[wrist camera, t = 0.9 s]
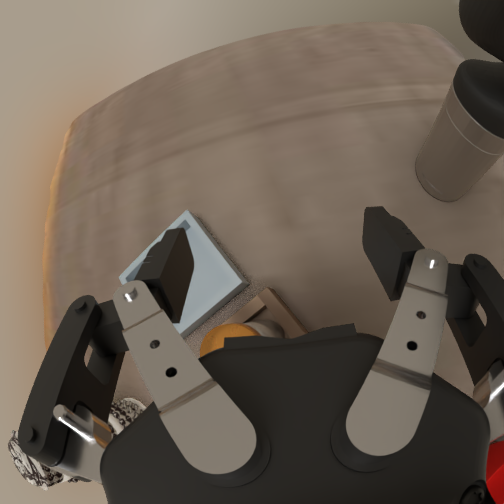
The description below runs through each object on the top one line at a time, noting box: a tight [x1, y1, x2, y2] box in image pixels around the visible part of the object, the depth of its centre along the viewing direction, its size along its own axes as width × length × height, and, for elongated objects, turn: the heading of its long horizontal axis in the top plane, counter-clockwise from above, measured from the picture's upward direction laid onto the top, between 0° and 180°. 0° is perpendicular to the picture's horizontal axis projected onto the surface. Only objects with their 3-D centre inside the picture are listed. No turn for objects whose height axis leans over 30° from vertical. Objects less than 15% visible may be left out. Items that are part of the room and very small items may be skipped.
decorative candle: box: [8, 398, 147, 490], centre depth 24 cm, size 9×9×25 cm
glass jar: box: [200, 319, 285, 357], centre depth 27 cm, size 5×5×14 cm
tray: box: [119, 210, 250, 339], centre depth 37 cm, size 15×13×4 cm
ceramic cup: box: [486, 441, 504, 504], centre depth 16 cm, size 13×17×10 cm
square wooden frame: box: [221, 287, 308, 339], centre depth 32 cm, size 9×9×4 cm
